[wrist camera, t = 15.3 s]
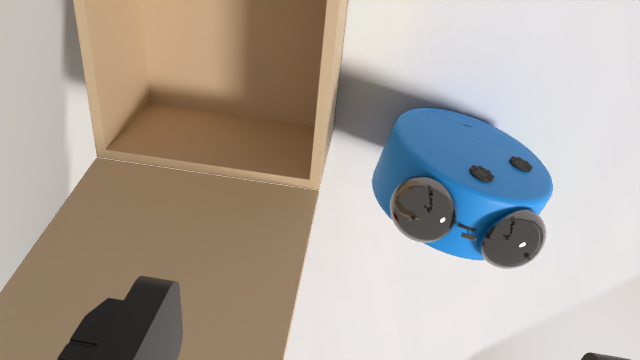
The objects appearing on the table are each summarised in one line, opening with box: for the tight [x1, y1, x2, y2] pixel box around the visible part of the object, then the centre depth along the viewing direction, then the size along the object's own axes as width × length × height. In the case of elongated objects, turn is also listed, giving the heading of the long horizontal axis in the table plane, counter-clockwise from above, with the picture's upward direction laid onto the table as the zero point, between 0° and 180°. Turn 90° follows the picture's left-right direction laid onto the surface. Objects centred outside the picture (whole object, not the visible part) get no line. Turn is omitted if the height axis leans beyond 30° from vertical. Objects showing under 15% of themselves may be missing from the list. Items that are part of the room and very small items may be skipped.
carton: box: [73, 0, 348, 190], centre depth 42 cm, size 18×18×10 cm
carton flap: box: [0, 158, 319, 360], centre depth 34 cm, size 24×18×2 cm
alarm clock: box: [372, 108, 553, 269], centre depth 43 cm, size 13×6×15 cm, turn 73°
